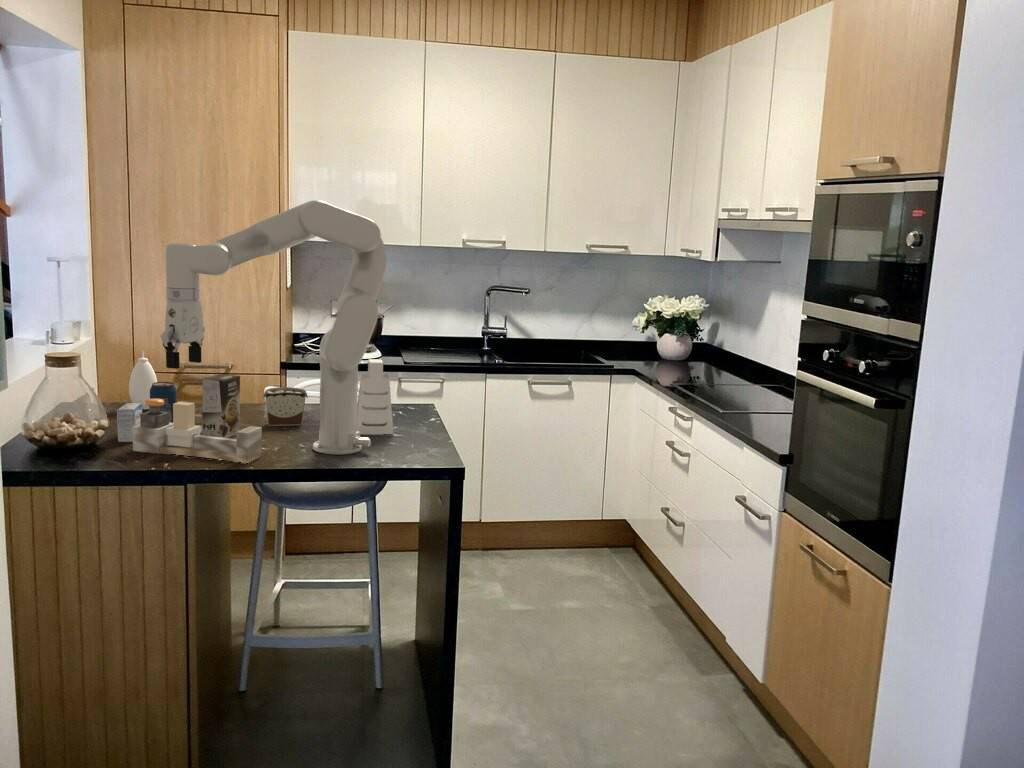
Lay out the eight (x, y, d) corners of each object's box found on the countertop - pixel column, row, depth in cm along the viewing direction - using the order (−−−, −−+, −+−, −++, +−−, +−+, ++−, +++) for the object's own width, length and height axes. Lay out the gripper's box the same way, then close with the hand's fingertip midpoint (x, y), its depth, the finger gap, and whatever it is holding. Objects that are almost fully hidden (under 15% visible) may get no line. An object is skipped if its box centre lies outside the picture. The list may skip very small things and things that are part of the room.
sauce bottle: (162, 410, 269) (162, 350, 266) (136, 413, 263) (135, 352, 260) (150, 405, 274) (149, 346, 271) (124, 408, 269) (123, 348, 265)
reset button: (167, 414, 228) (167, 399, 228) (157, 417, 224) (157, 402, 223) (152, 412, 229) (151, 397, 228) (141, 416, 225) (141, 401, 224)
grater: (355, 434, 254) (357, 363, 251) (354, 425, 264) (356, 357, 261) (393, 434, 257) (395, 364, 253) (390, 425, 267) (393, 358, 263)
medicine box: (135, 442, 233) (135, 409, 231) (117, 442, 232) (116, 409, 230) (143, 435, 240) (142, 403, 239) (125, 435, 239) (124, 402, 238)
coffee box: (223, 441, 239) (223, 380, 236) (201, 438, 240) (201, 378, 237) (240, 433, 248) (241, 375, 245) (219, 431, 249) (219, 373, 246)
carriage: (201, 442, 228) (201, 402, 227) (188, 448, 223) (188, 406, 221) (180, 440, 230) (179, 400, 228) (166, 445, 224) (165, 404, 222)
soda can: (164, 422, 255) (163, 380, 253) (182, 426, 252) (182, 383, 250) (144, 427, 249) (143, 383, 247) (163, 430, 246) (162, 387, 244)
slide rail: (262, 456, 227) (262, 420, 225) (246, 464, 219) (247, 427, 217) (152, 443, 233) (151, 408, 231) (132, 450, 225) (132, 415, 223)
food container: (305, 420, 267) (305, 386, 266) (307, 425, 262) (307, 390, 260) (261, 420, 264) (261, 386, 262) (262, 425, 258) (263, 391, 256)
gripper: (177, 298, 210) (178, 371, 214) (215, 293, 227) (216, 361, 230) (147, 296, 212) (149, 369, 215) (188, 291, 229) (189, 358, 232)
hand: (184, 365), depth 223 cm, fingers open, 9 cm apart
